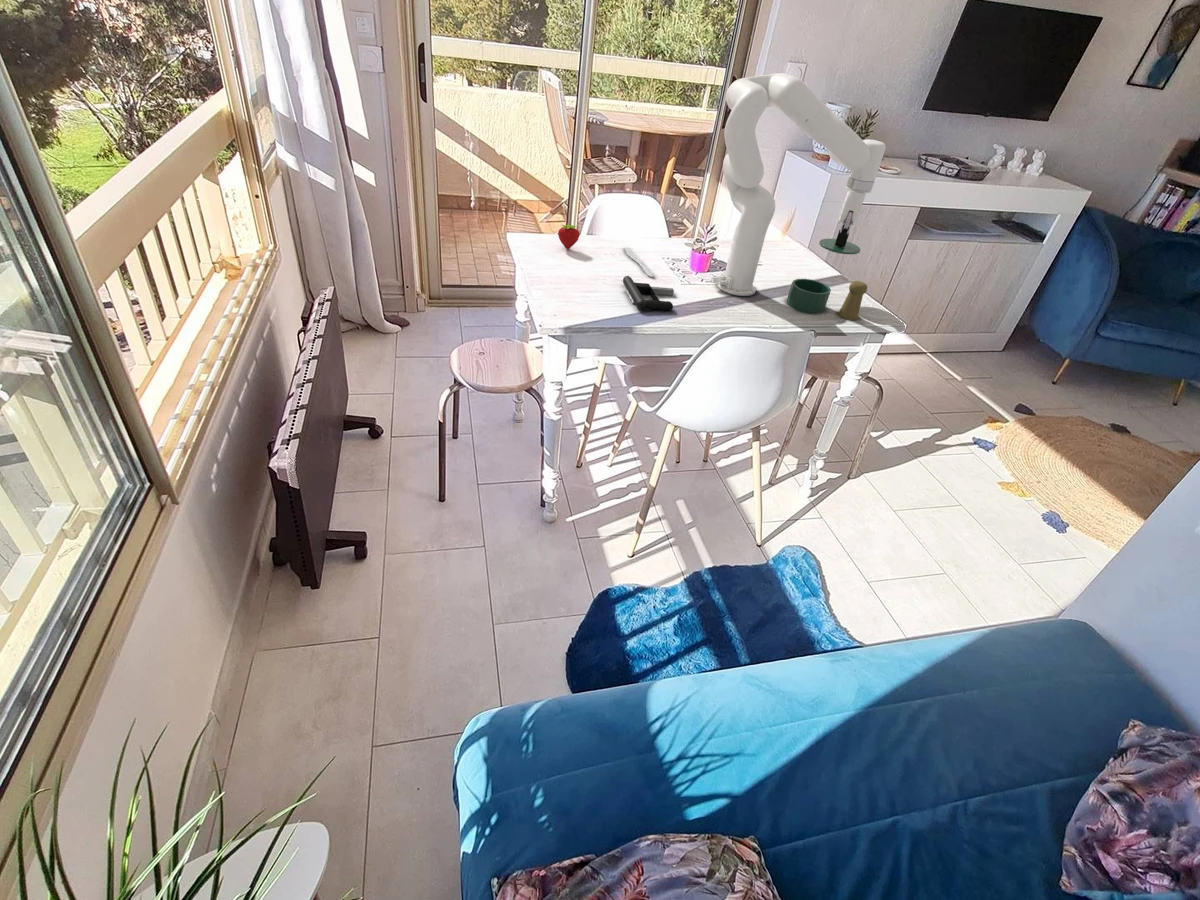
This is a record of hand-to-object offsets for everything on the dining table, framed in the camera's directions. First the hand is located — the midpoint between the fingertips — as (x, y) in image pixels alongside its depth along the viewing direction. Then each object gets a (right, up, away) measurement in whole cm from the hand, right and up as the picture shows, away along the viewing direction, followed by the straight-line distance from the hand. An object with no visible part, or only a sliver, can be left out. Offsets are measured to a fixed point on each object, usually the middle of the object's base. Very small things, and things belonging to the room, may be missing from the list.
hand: (840, 243), depth 203 cm
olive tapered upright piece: (+1, -24, -4) cm, 25 cm away
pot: (-12, -20, -1) cm, 23 cm away
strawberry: (-89, +3, +17) cm, 91 cm away
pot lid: (0, -1, +1) cm, 1 cm away
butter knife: (-65, -2, +14) cm, 66 cm away
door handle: (-62, -20, -10) cm, 66 cm away
